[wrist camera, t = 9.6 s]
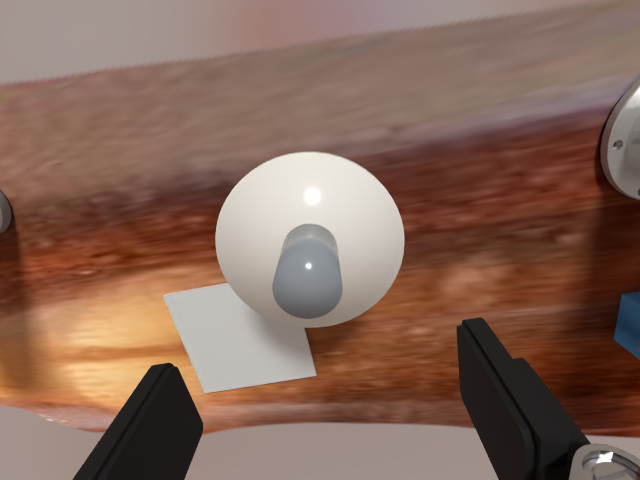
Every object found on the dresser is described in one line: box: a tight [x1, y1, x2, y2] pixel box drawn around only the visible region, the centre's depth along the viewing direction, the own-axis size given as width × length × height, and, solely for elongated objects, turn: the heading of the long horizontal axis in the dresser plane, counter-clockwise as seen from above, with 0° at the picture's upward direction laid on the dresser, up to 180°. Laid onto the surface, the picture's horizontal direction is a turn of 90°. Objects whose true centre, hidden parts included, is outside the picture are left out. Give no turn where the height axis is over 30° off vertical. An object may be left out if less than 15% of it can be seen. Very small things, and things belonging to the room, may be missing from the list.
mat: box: [163, 283, 316, 393], centre depth 38 cm, size 14×14×1 cm
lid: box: [216, 151, 404, 328], centre depth 19 cm, size 12×12×6 cm
